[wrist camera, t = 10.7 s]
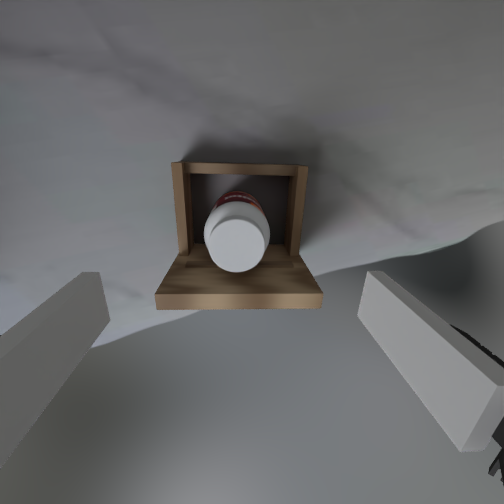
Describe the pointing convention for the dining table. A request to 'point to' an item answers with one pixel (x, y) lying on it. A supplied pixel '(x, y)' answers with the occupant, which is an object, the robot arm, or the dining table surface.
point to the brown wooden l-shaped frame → (247, 282)
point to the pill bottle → (236, 232)
